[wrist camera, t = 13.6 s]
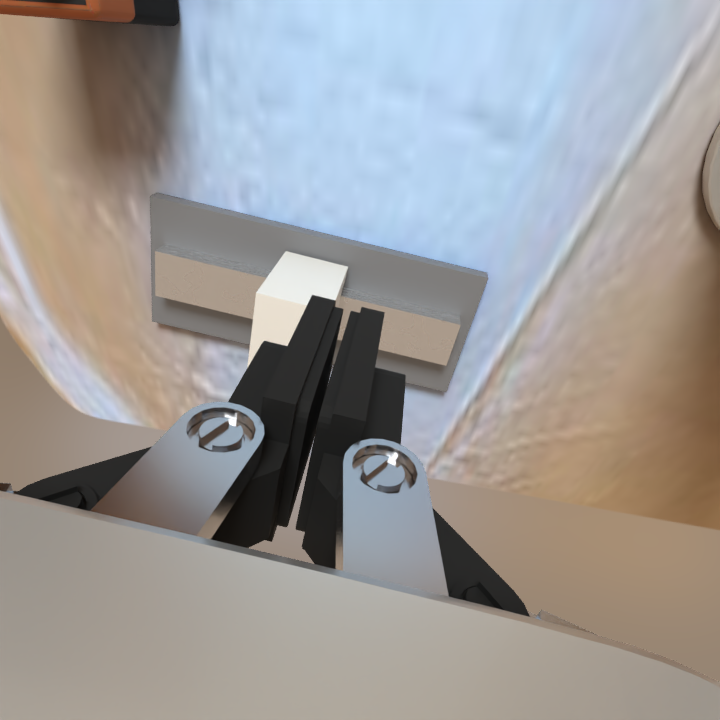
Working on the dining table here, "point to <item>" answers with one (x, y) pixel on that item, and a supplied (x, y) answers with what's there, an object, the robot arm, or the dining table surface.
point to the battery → (98, 10)
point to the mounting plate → (272, 239)
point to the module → (291, 296)
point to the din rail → (401, 320)
